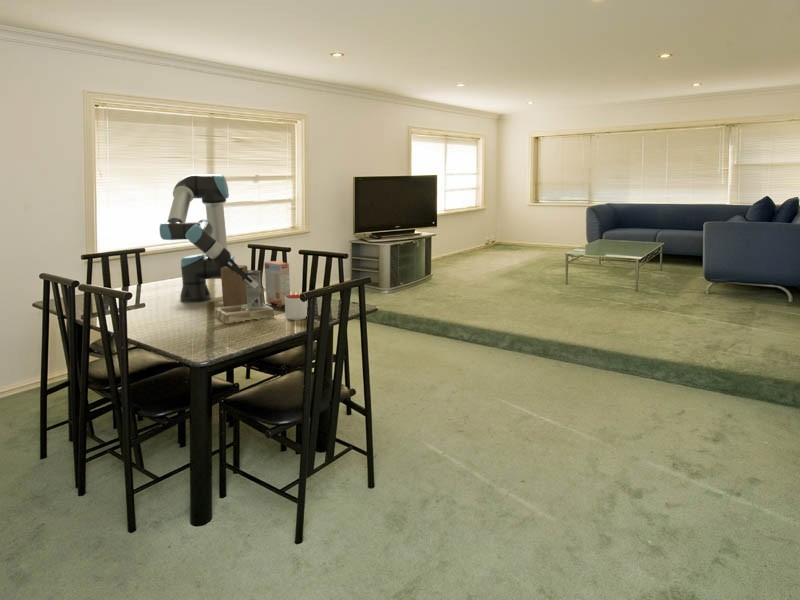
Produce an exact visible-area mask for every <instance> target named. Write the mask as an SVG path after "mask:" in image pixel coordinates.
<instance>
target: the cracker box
mask: <svg viewBox="0 0 800 600" xmlns="http://www.w3.org/2000/svg"><path fill="white" fill-rule="evenodd" d="M264 281H265V298H266V301H265V302H267V303H271V304H273V305H279V306H285V296H288V295H291V283H290V263H289V262H282V261H276V260H271V261H264Z"/></svg>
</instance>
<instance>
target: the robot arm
mask: <svg viewBox="0 0 800 600" xmlns="http://www.w3.org/2000/svg"><path fill="white" fill-rule="evenodd" d="M172 196H173V200H172V203H171V207H170V210H169V214H168V218H167V221H166V222H162V223H160V224H159V236H160V238H161V239H162V240H164V241H165V240H167V241H179V240H181V241H182V240H188V241H189V242H190V243H191V244H193V245H194V247H197V249H199V250H200V251H201V252H202V253H198V254H197V253H196V254H192V255H188V256H184V257H182V258H181V260H180V269H181V270H180V271H181V279H182V280H181V281H182V287H181V291H180V294H179V295H180V299H179V300H180V301H181V302H184V301H187V302H186V303H193V302H195V303H196V301H197V302H204V300H205V301H207V300H210V299H211V298H212V297H211V295H212V294H211V293H210V290H209V287H208V285H207V280H215V279H216V280H217V279H219V280H221V268H222V267H225V266H226V267H228V268H230V269H231V270H232V271H235V272H236V273H237V274H239V276H241V277H242V280H245V281H246V282H247V283H249V284H250V285H251V286H252V287H253V288H256V287H257V286H258V285H259V284H258V283H257V282H256V281H255V280H253V279H252V278H251V277H250V276H249V275H248V274H246V273H245V272H244V271H243V269H242V268H239V267H238V265H239V264H238V263H235V256H233V255H232V253H231V251H229V249H228V243H227V241H228V240H227V232H226V231H227V230H226V220H225V211H224V210H225V209H224V204H226V202H227V199H228V198H229V196H230V195H229V187H228V183H227V179H226V177H225V176H224V175H223V174H215V173H213V174H212V173H211V174H205V173H204V174H190V175H186V176H185V177H183V178H181V179H180V180H179V181H178V182H177V183H176V185H175V186H174V187H173V191H172ZM193 199H201V202H202V204H204V206H205V211H206V219H201V220H199V221H197V222H187V216H188V212H189V208H190V204H191V202H192V201H193ZM204 254H205V255H204Z"/></svg>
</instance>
